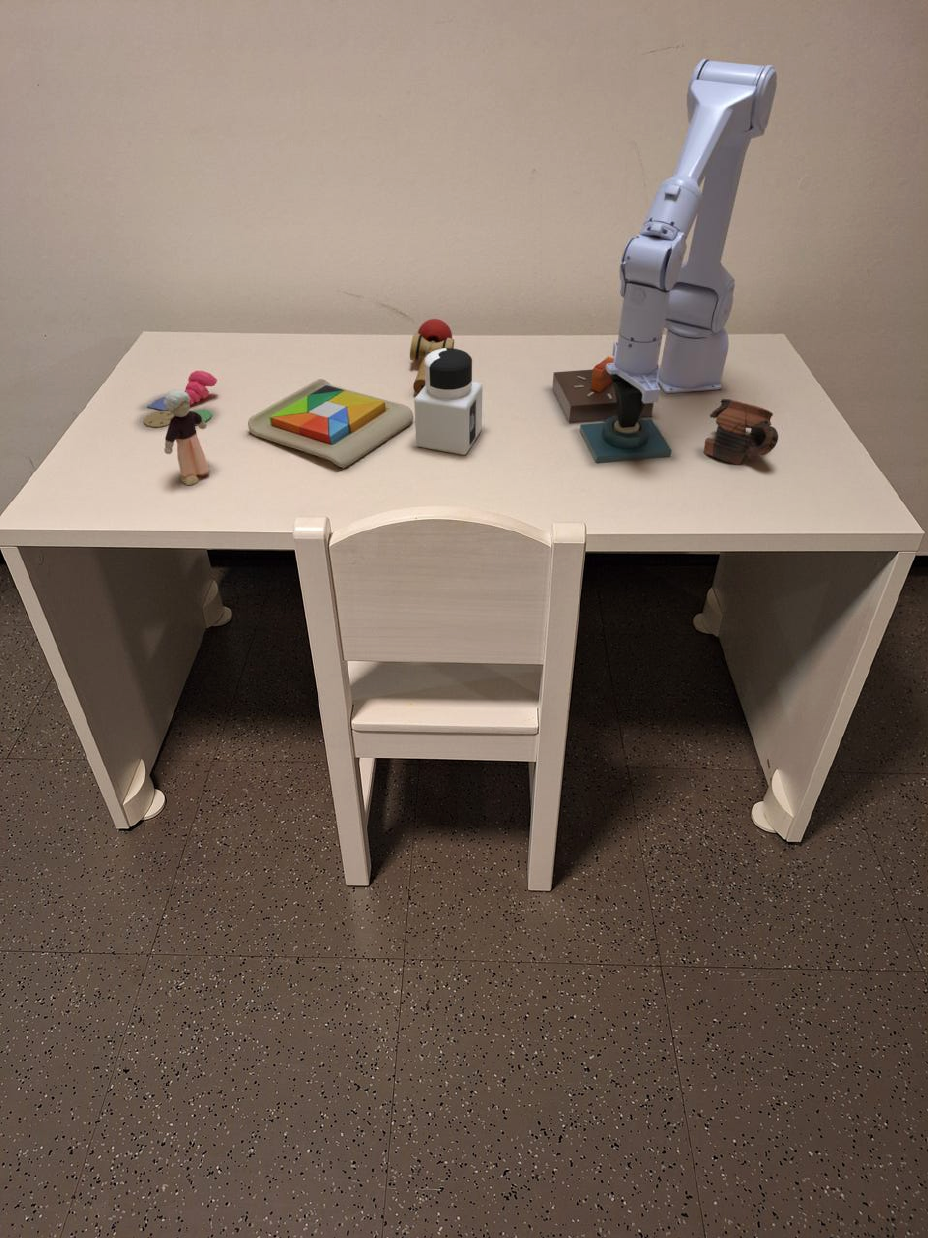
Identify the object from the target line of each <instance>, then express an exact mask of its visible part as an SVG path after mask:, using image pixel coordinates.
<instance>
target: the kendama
mask: <svg viewBox="0 0 928 1238" xmlns="http://www.w3.org/2000/svg"><path fill="white" fill-rule="evenodd" d="M454 347H455V339H454V338H453V332H452V330H451V328H450V326H449V325H448V324H447V323H446V322H445V321H443V320H442V319H437V318H431V319H428V320H426V321H424V322H423V323H422V324H421V325H420V326H419V328H418V330H417V333H413V335H412V338H411V343H410V348H409V360H410V361H411V362H412V361H413V362H416V361H417V362H418V360H421V359H422V361H421V363H420V365H419V369H418V371H417V375H416V377H415V379H414V382H413V384H412V385H413V386H412V388H413V391H414V392H415V393H416V394H417V395H418V394H419V393H420V391H421V390H422V389H423V388H424V386H425V358H426V357H427V355H428V354H429V353H431V352H433V351H435V350H438V349H443V348H454ZM454 349H455V348H454Z"/></svg>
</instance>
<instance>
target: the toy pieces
mask: <svg viewBox="0 0 928 1238" xmlns="http://www.w3.org/2000/svg"><path fill="white" fill-rule="evenodd" d="M187 381H188V382H187V384H186V386H185V388H184V390H183V391H184V392H186V393H187V394H188V395H189V396H190V401H189V405H190V406H191V405H194V404H195V403H199V402H201V400H202V399H207V398H208V396H209V394H210V392H209V390H208V387H215V385H216V384H217V382H218V379H217V378H216V377H215V376H214V375H212V374H211V373H210V372H208V371H204V370H195V371H193V372H191V373H190V375H189V377H188V379H187ZM164 399H165V396H163V397H159V398H156V399H155V400H154V401H153V402H152V403H150V404H147V405H146V407H147V408H150V409H156V410H158V411H153V412H150V413H149V414H147V415H146V416H145V417H144V418H143V419H142V420H143V421H142V422H143V424H144V425H145V426H147V427H151V428H161V427H166V426H169V424H170V421H171V419H172V418H173V417H174V416H175V415H173V414H172V413H171V411H170V410H168V409H167V408H166V405H165V404H164ZM193 411H194V412H196V413H198V414H199V415H201V417H202V419H203V421H204V422H205V423H206V422H208V421H209V420H210V419H211V418H212V416H213V413H212V412H211V410H209V409H206V408H203V409H195V410H193ZM195 426H198V425H197V424H196V425H195Z"/></svg>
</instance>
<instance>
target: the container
mask: <svg viewBox="0 0 928 1238" xmlns="http://www.w3.org/2000/svg"><path fill="white" fill-rule="evenodd" d="M413 402H414V404H413V405H414V406H413V407H414V424H415V425H414V427H415V442H416V443H415V444H416V446H417V447H419V448H423V449H428V450H429V449H430V450H434V451H435V450H436V451H441V452H446V453H450V454H456V455H462V456H465V455H466V454H467V453H468V451H469V450H470V449H471V447H472V445H473V444H474V443H475V442H476V440H477V438H478V436H479V434H480V433H481V432H482V430H483V384H482V382H478V381H473V358H472V356H471V355H470V354H469V353H468V352H466V351H464V350H462V349H459V348H443V349H438V350H435V351H433V352H431V353H429V354H428V355H427V357H426V358H425V386H424V388H423V389H422V390H421V391H420V393H419V394H417V395H416V396H415V397H414V400H413Z"/></svg>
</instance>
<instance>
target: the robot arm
mask: <svg viewBox="0 0 928 1238" xmlns="http://www.w3.org/2000/svg"><path fill="white" fill-rule="evenodd" d="M777 80H778V74H777V71H776V69H775V67H774V65H773V64H768V65H759V64H758V65H757V64H749V63H739V62H738V63H737V62H729V61H728V62H727V61H717V60H710V59H709V58H703V59H701V60H700V61H699V63H697V64H696V66H695V67H694V69H693V71H692V74H691V76H690V79H689V82H688V87H687V92H686V108H687V122H688V124H689V127H688V130H687V133H686V136H685V139H684V142H683V145H682V148H681V151H680V154H679V157H678V159H677V163H676V166H675V170H674V172H673V175H672V176H671V177H669V178H666V179H664V180H663V181H662V182H661V183H660V184H659V186H658V188H657V191H656V193H655V195H654V198H653V200H652V203H651V205H650V207H649V209H648V211H647V214H646V216H645V218H644V221H643V224H642V226H641V228H640V230H639V233H638V234H637V235H636V237H631V238H629V240H628V241H627V242H626V245H625V247H624V249H623V251H622V256H621V261H620V264H619V279H620V292H619V293H620V297H621V298H623V299H622V307H621V314H620V322H619V329H618V337H617V341H615V342H613V346H612V354H611V355H612V358H614V362H613V363H608V364H606V370H607V372H608V373H609V374H611V375H610V379H611V381H612V384H613V387H614V391H615V395H616V402H617V414H618V422H619V425H620V426H621V428H627V427H635V425H636V423H637V421H638V419H639V418H640V417H639V416H640V414H641V412H642V410H643V408H644V406H645V404H646V403H654V404H656V403H659V398H660V393H661V389H662V390H663V392H664V393H666V394H675V393H676V394H677V393H688V392H703V391H715V390H716V391H717V390H721V389H722V388H723V385H722V384H721V383H722V377H723V374H724V371H725V366H726V362H727V358H728V357H727V356H728V352H729V344H730V343H729V334H728V331H727V328H726V327H725V326H726V325H727V323H728V320H729V318H730V315H731V311H732V308H733V304H734V291H735V286H736V284H735V282H736V280H735V278H734V276H733V275H732V274H731V273H730V272H729V271H728V269H726V267H724V265H723V264H722V259H723V254H724V249H725V245H726V240H727V236H728V232H729V228H730V223H731V219H732V216H733V210H734V206H735V202H736V198H737V193H738V189H739V184H740V181H741V177H742V172H743V167H744V163H745V158H746V154H747V151H748V148H749V146H750V143H751V141H752V140H753V139H756V138H759V137H763V136H764V134H765V132H766V129H767V126H768V125H769V120H770V117H771V112H772V108H773V105H774V99H775V95H776V92H777V87H778V86H777V85H778V83H777ZM702 183H703V185H702V191H701V189H700V187H701V184H702ZM694 222H695V223H694ZM693 226H694V229H693V233H692V237H691V238H692V239H691V242H690V243H691V244H690V248H689V253H688V258H687V260H686V261H685V262H684V256H685V254H686V252H687V239H688V237H689V234H690V233H691V229H692V227H693ZM665 329H666V335H665V340H664V346H663V351H662V358H661V363H660V365H659V360H660V353H661V347H662V341H663V336H664V331H665ZM660 387H661V388H660Z"/></svg>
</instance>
